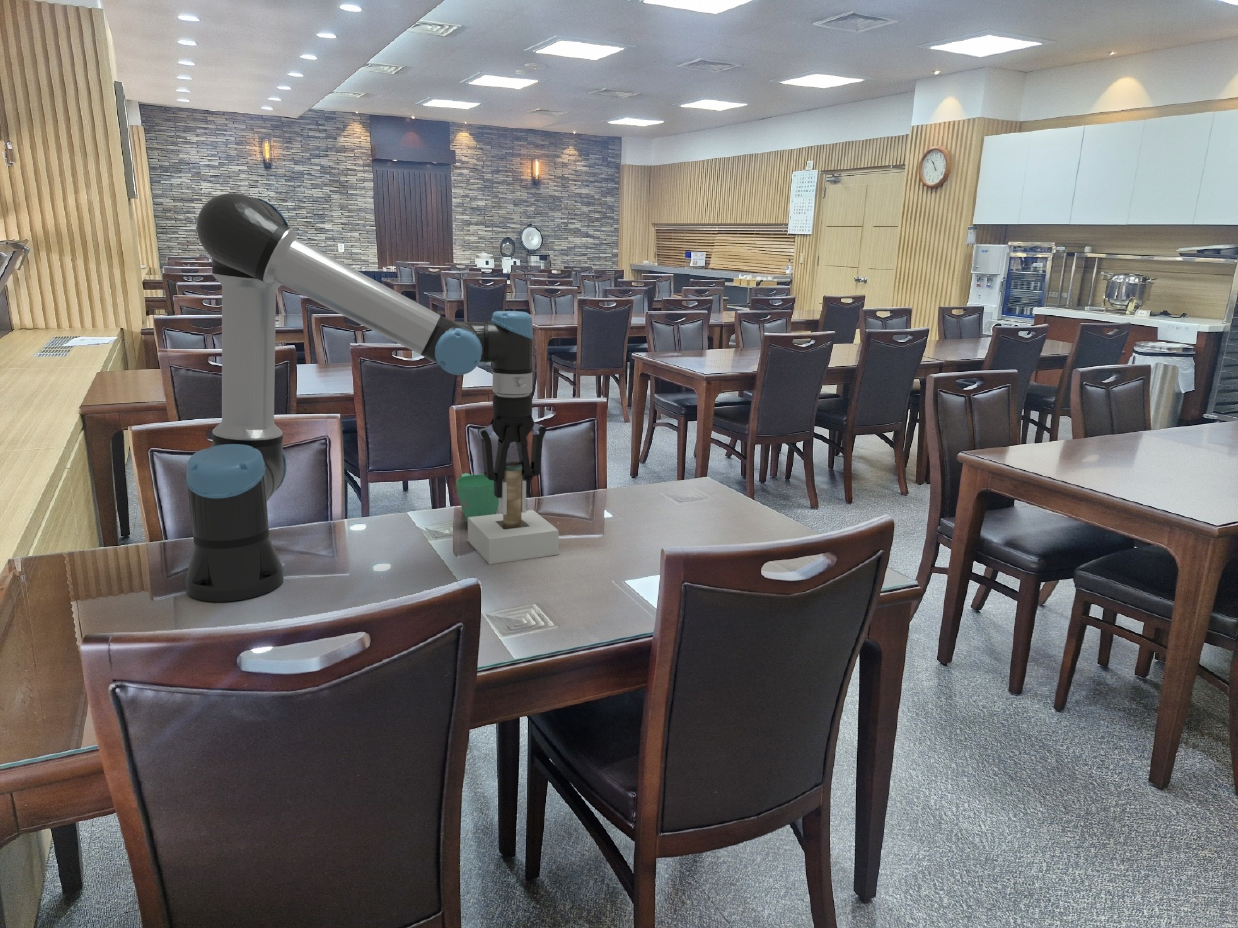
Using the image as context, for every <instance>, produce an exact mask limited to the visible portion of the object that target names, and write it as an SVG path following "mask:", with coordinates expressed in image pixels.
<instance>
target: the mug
mask: <svg viewBox="0 0 1238 928" xmlns="http://www.w3.org/2000/svg"><path fill="white" fill-rule="evenodd" d="M455 486H456V490H457V496H458V499H459V502H460V503H459V504H460V507H461V510H462V512H463V515H464V517H465V519H466V522H467V524H468V517H475V516H484V515H493V514H497V511H498V510H499V498H497V497H496V496H495V495H494V481H493V480H489V479H488V478H487V477H485V475H484V474H470V473H468V472H466V473H461V475H460V476H459V478H457V479H456V482H455Z"/></svg>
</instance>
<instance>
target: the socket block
mask: <svg viewBox="0 0 1238 928" xmlns="http://www.w3.org/2000/svg"><path fill="white" fill-rule="evenodd" d="M559 532H560V531H559V530H558V528H556V527H555V526H554V525H553V524H551V523H550V522H549V521H547V520H546V519H545V518H543V516H541V515H540V514H539V513H537V512H536V511H535V510H533V509H529V510H526V512H525V513H522V517H521V528H512V529H503V514H501V513H496V514H493V515H484V516H475V517H468V523H467V541H468V543H469V544H470V545H471V546H472V547H473V548H474V549H475V551H477V552H478V553H479V555H480V556H481V557H482V558H483V559H484V560H485V561H486V562H487V563H488V565H495V564H500V563H501V564H502V563H509V562H516V561H523V560H529V559H536V558H544V557H545V558H546V557H550V556H558V555H559V545H560V544H559V539H560V537H559V535H560V533H559Z"/></svg>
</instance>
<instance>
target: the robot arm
mask: <svg viewBox="0 0 1238 928" xmlns="http://www.w3.org/2000/svg"><path fill="white" fill-rule="evenodd" d="M196 232H197V237H198V241H199V243H200V244H201V246H202V247H203V249H204V251H206V253H207V255H208V256H210V257H211V264H212V265H211V275H212V277H213V278H214V279H216V281H217V282H218V283H220V285H221V422H220V423H218V424H217V425H216V426H215V427H214V428H213V429H212V432H211V433H212V439H211V440H212V442H211V443H212V446H209V447H208V448H204V449H200V450H198V451H196V452H195V453H193V454H192V455H191V456H190V457H189V458H188V460H187V463H186V474H185V482H186V485H187V491H188V493H187V494H188V501H189V511H190V520H191V528H192V529H191V530H192V538H193V540H192V541H193V549H192V553H191V557H190V560H189V565H188V567H187V572H186V576H185V588H186V593H187V595H188V596H190V597H191V598H193V599H196V600H200V601H203V602H213V603H214V602H215V603H216V602H218V603H220V602H223V603H225V602H234V601H235V602H236V601H241V600H242V601H243V600H248V599H251V598H257V597H259V596H262V595H265V594H267V593H269V592H271V591H274V590H276V589H277V588H279V586H281V585H282V583H283V582H284V567H283V565H282V562H281V560H280V558H279V556H278V554H277V551H276V549H275V547H274V545H273V543H272V540H271V537H270V530H269V529H270V528H269V527H270V526H269V525H270V524H269V515H268V514H269V513H268V501H269V500H270V498H271V497H272V496H273V495H274V493H275V492H277V490H279V488H280V487H281V486H282V484H283V482H284V480H285V479H284V478H286V475H287V467H288V465H287V464H288V463H287V462H288V461H287V456H286V454H285V451H284V448H283V444H284V442H283V439H284V438H283V437H284V436H283V430H282V429H281V428H280V427H278V426H277V425H276V423H275V383H276V382H275V381H276V380H275V379H276V378H275V376H276V375H275V373H276V370H275V369H276V323H277V322H276V317H277V316H276V315H277V312H276V311H277V309H276V308H277V290H278V289H279V288H280V287H281V286H285V287H287V288H289V289H290V290H292V291H295V292H297V293H298V294H299V295H300V294H301V295H302V296H305V297H306V298H308V299H310V300H312V301H314V302H317V303H318V304H320V305H322V306H324V307H326V308H329V309H330V310H332V311H334V312H336V313H338V314H339V315H342V316H344V317H346V318H347V319H349V320H351V321H353V322H356V323H358V324H360V325H361V326H363V327H365V328H368V329H369V330H371V331H372V332H375V333H377V334H379V335H381V336H383V337H385V338H387V339H388V340H391V341H393V342H394V343H397V344H399V345H401V346H403V347H404V348H407V349H409V350H411V351H412V352H414V353H417V354H419V355H420V356H423V357H424V358H425V359H427V360H428V361H429V362H433V363H435V364H437V365H438V366H439V367H440V368H441V369H442V370H444V371H445V372H446V373H449V374H451V375H455V376H463V375H467V374H469V373H471V372H473V371H474V369H476V368H477V367H478V365H479V364H480V363H484V364H485V363H486V364H487V363H492V392H493V393H494V394H493V396H492V418H491V420H490V423H489V425H487V426H486V427H484V428H482V427H479V428H478V429H477V434H478V436H479V439H480V440H481V441H480V442H481V450H482V451H481V453H482V461H483V462H482V465H483V475H485V477H487V478H488V479H489V480H493V481H494V495H495V496H496V497H497V498H499V505H498V512H499V514H503V515H507V482H505V481H503V477H504V471H505V465H506V462H507V457H508V452H509V451H508V450H509V448H510V444H511V443H515V444H516V449H517V455H518V462H521V463H522V509H521V512H522V513H525V512H526V511H527V496H529V495H530V494H531V483H532V480H533V478H534V477H538V476H539V475H540V474H541V466H542V452H543V442H544V438H545V434H546V432H547V431H548V430H547V427H546V426H544V425H542V424H540V423H539V424H538V423H535V420H534V418H533V396H532V395H531V393H532V392H533V357H534V332H533V318H532V315H531V314H529V313H528V312H526V311H520V310H519V311H517V310H516V311H515V310H514V311H513V310H506V311H505V310H497V311H494V312H492V316H491V321H483V322H479V321H452V320H451V319H448V318H447V317H444V316H442V315H440V314H438V313H437V312H435V311H433V310H431V309H429V308H427V307H426V306H424V305H423V304H422V305H421V304H420V303H419V302H417V301H414V300H413V299H411V298H409V297H407V296H405V295H404V294H402V293H399V292H398V291H396V290H394V289H392V288H390V287H388V286H386V285H385V284H383V283H381V282H378V281H377V280H375V279H373V278H371V276H370V277H369V276H367V274H363V273H362V272H361V271H359V270H356V269H355V268H352V267H350V266H349V265H347V264H345V263H343V262H341V261H340V260H338V259H336V258H334V257H332V256H330V255H329V254H327V253H324V252H322V251H321V250H319V249H317V248H315V247H314V246H311V245H309V244H307V243H306V242H303V240H300V239H298V237H297V236H296V233H295V231H294V229H293V228H291V227H290V226H289V222H288V221H287V219H286V218H285V217H284V215H283V213H282V212H281V211H280V210H279V209H278V208H277V207H276V206H275V205H273V204H272V203H270V202H268V201H267V200H264V199H263V198H258V197H254V196H248V195H244V194H242V193H241V194H240V193H236V192H234V193H232V192H231V193H229V192H227V193H222V194H219V195H216V196H214V197H212V198H211V199H209V200H208V201H207V202H206V203H204V205H203V207H201V209H200V211H199V213H198V217H197V219H196ZM493 432H494V433H495V435H496V436H497V437H498V438H497V449H496V450H497V451H496V454H495V455H496V456H495V462H494V459H493V458H494V457H493V446H492V445H493V444H492V439H491V438H492V437H493ZM530 432H531V433H532V441H531V453H530V458H529V452H528V441H527V437H528V436H529V434H530Z"/></svg>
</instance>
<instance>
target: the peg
mask: <svg viewBox="0 0 1238 928" xmlns="http://www.w3.org/2000/svg"><path fill="white" fill-rule="evenodd" d="M503 481H505V482H507V515H503V529H512V528H521V517H522V512H521V509H522V463H521V462H519V461H516V460H514V461H512V460H511V461H506V465H505V471H504V477H503Z"/></svg>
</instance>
